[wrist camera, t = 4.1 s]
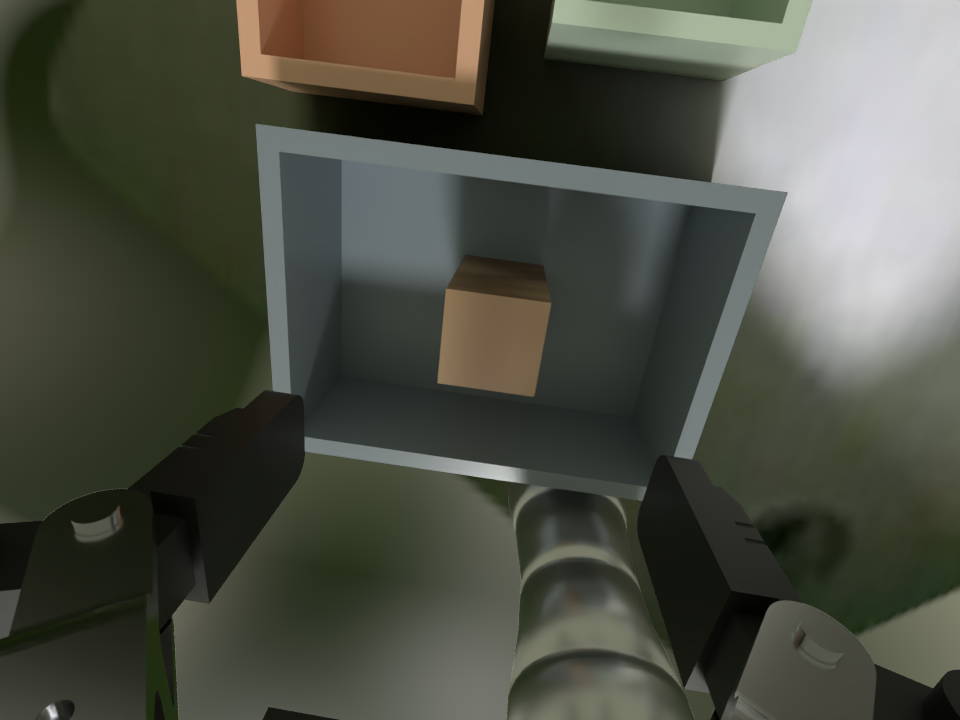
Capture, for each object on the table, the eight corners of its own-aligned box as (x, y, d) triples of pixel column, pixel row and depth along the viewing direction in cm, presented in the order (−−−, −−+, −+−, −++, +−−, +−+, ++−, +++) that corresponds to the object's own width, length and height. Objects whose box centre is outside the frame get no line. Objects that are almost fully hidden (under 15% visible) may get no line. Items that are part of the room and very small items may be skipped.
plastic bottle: (531, 415, 28) (552, 893, 10) (635, 451, 29) (843, 976, 10) (494, 495, 31) (456, 994, 12) (590, 527, 31) (692, 1057, 13)
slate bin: (711, 183, 22) (787, 192, 16) (639, 426, 28) (675, 505, 21) (329, 134, 23) (255, 124, 16) (332, 382, 28) (276, 447, 22)
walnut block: (543, 265, 24) (551, 303, 18) (530, 337, 26) (534, 396, 19) (465, 254, 24) (446, 288, 18) (458, 327, 26) (437, 383, 19)
